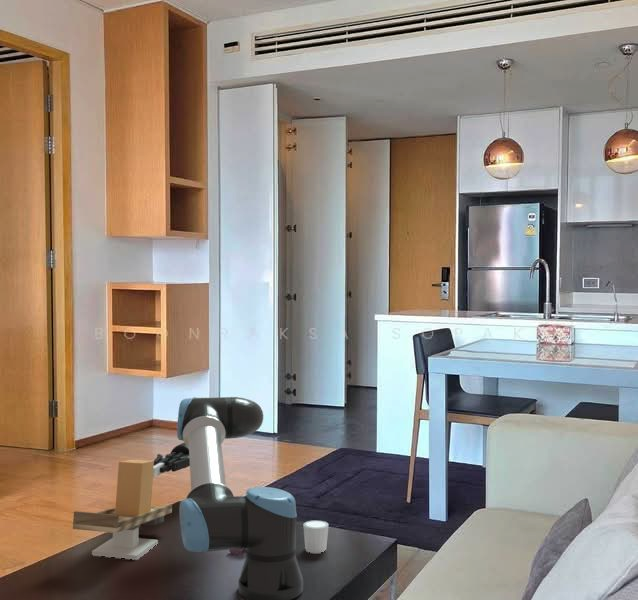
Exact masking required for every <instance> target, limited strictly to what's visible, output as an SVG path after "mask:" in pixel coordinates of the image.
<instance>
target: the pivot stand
mask: <svg viewBox="0 0 638 600" xmlns="http://www.w3.org/2000/svg"><path fill="white" fill-rule="evenodd" d="M139 530H140V527H139V528H137V527H131V528H129V529H126V530H123V531H120V532H118V533H112V537H111V538H109V539H107V541H105V542H103V543H102V544H100V545H99V546H97V547H96V548H95V549H93V550H91V555H93V557H101V556H105V557H104V558H111V557H115V558H114V559H121V558H125V559H124V560H130V559H132V561H138V560H139V559H141V558H142V557H143V556H145V555H146V554H147V553H149V552H150V551H151V550H152V549H154V548H155V547H156V546H158V545H159V540H158V539H153V538H152V539H151V538H141V537H139V534H140V532H139ZM157 544H158V545H157ZM155 545H156V546H155ZM154 546H155V547H154ZM153 547H154V548H153ZM150 549H151V550H150ZM149 550H150V551H149ZM144 554H145V555H144ZM140 557H141V558H140Z"/></svg>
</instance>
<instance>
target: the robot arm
mask: <svg viewBox="0 0 638 600" xmlns="http://www.w3.org/2000/svg"><path fill="white" fill-rule="evenodd" d="M177 415H178V416H177V423H176V424H177V425H176V427H177V429H176V432H177V434H176V436H177V439H178V440H180V441H182V442H181V443H179V444H177V445H176V446H175V447H173V448H172V450H171V451H170V453H167V454H166V455H165V456H164V455H163V454H160V453H157V455H156V458H155V459H153V461H154V468H153V479H155V478H157V477H159V476H160V475H162V474H163V473H166V472H170V471H171V472H177V471H180V470H184V469H186V468H189V472H190V473H189V475H190V478H189V480H190V491H189V493H187V496H186V497H185V499H182V500H181V501H180V503H179V508H178V509H179V525H180V534H181V539H182V544H183V547H184V548H185V549H186V550H187V551H188V552H200V553H206V552H217V551H225V550H226V551H227V550H230V549H242V548H246V551H245V560H244V563H243V566H242V568H241V571H240V575H239V578H238V581H237V582H238V584H237V586H238V588H237V589H238V594H239V595H240V596H241V597H242V598H244V599H245V600H294V599H296V598H297V597H299V596H301V594H302V593H303V590H304V578H303V575H302V572H301V569H300V566H299V563H298V559H297V556H296V555H297V552H296V549H297V546H296V545H297V517H298V514H297V507H296V506H297V505H296V499H295V497H294V496H293V495H292V494H291V493H290V492H288V491H286V490H284V489H281V488H276V487H269V486H255V487H250V488H247V490H246V492H245V495H242V496H241V495H239V496H234V494H233V491H232V490H231V488H230V487H228V486H227V483H226V482H227V481H226V475H225V474H226V473H225V465H224V456H223V447H222V444H223V442H224V441H225V440H226V439H229V440H230V439H239V438H243V437H246V436H249V435H251V434H254V433H255V432H257V431H258V430H259V429H260V427H262V425H263V423H264V411H263V409H262V408H261V406H260V405H259V404H258V403H257V402H255V401H253V400H252V399H247V398H245V397H238V396H228V397H225V396H224V397H219V396H218V397H191V398H184V399H182V400H180V403H179V407H178V413H177Z"/></svg>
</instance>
